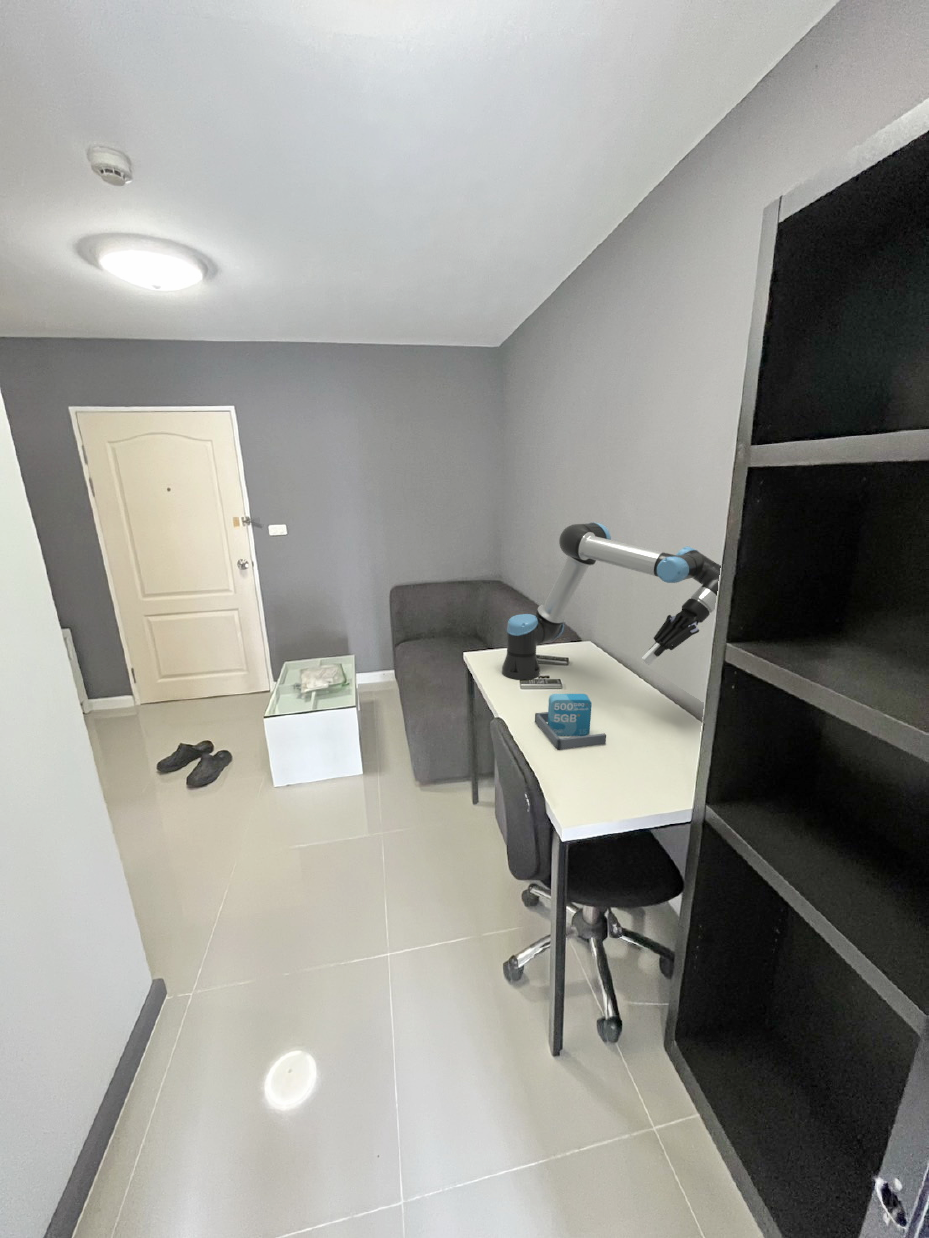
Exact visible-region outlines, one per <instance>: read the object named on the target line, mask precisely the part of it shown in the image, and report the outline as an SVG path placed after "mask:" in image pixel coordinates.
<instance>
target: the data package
mask: <svg viewBox="0 0 929 1238" xmlns="http://www.w3.org/2000/svg"><path fill="white" fill-rule="evenodd" d="M547 706H548V708H547V712H548V722H547V724H548V725H549V726H550V727H551V729H552V730H553V731H554V732H555V733H556V735H557V736H558V737H577V736H586V735H590V734H589V733H590V732H591V718H592V701H591V699H590V698H589V696H588V694H585V693H552V694H550V695H549V697H548V705H547Z"/></svg>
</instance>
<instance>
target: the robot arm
mask: <svg viewBox="0 0 929 1238" xmlns="http://www.w3.org/2000/svg"><path fill="white" fill-rule="evenodd" d="M558 540H559V542H558V544H559V548H560V549H561V551H562V553H563V554H564V555H566V556H567V557H566V560H565V562H564V564H563V566H562V568H561V570H560V571H559V574H558V576H557V578H556V580H555V582H554V583H553V585H552V588H551V590H550V592H549V593H548V596H547V597H546V599H545V601H544V603H543V604H540V605H539V606H538V607H537V609H536V611H535V613H534V614H531V613H522V614H516V615H514V616H511V617H510V618H509V619H508V621H507V626H506V631H507V632H506V633H507V634H506V636H507V637H506V655H505V658H504V662H503V665H502V667H501V674H502V675H503V676H505V677H507V678H510V679H513V680H523V679H526V680H532V679H535V678H538V677H539V676H540V674H541V673H540V672H541V669H540V665H539V662H538V658H537V646H538V645H541V644H544V643H547V642H552V641H555V640H556V639H557V638H559V637H560V636H561V635H562V634H563V632H564V629H565V623H564V621H565V616H564V613H565V611H566V609H567V608H568V605H569V603H570V601H571V600H572V598H573V596H574V594H575V592H576V591H577V589H578V587H579V585H580V583H581V581H582V579H583V578H584V576H585V573H586V572H587V569H588V568H589V567H591V566H594V565H595V564H596V562H601V563H605V564H608V565H612V566H616V567H620V568H624V569H627V570H630V571H636V572H639V573H643V574H646V575H650V576H654V577H657V578H659V579H660V580H661V581H662V582H665V583H668V584H677V583H679V582H682V581H687V580H689V579H693V580H695V581H696V582H697V583H699V584H701V586H700V587H699V588H698V589H697V590H696V591H695V592H694V593H693V594H692V595H691V596H690V598H688V599H687V600H686V601H685V602H684V603H683V604H682V605H681V610H680V612H677V613H676V614H675V615H673V616H672V615H671V614H669V615H667V616H666V619H665V621H664V623H663V624H662V625H661V627H660V628H659V630H658V631H656V634H655V635H654V637H653V640H654V641H655V642H654V644H653V645H652V646H651V647H650V648H649V649H648V651H647V652H646V653H644V655H643V656H642V657H641V659H642V660H643V661H644V662H645V664H647V665H648V666H650V665H651V664H652V663H653V662H655V661H654V660H656V659H657V658H658V657H660V656H661V655H662V654H663V653H664V652H665V651H667V650H669V651H673V650H674V649H675V648H677V647H678V646H680V645H681V644H683V643H684V642H685V641H687V640H688V639H689V638H691V637H693V636H694V635H695V634H698V633H700V629H699V628H698V625H699V624H700V623H703V622H704V621H705V620H706V619H707V618H708V617H710V614H711V613H713V612H714V611H715V610H716V609H715V603H716V596H717V591H718V581H719V575H720V568H721V565H722V564H720V563H717V562H715V561H714V560H712V559H710V558H709V557H707V556H706V555H704V554H703V553H701V552H700V551H699V550H697V549H695V548H693V547H691V546H684V547H682V548H681V549H680V550H679V551H677V553H676V554H671V553H668V552H663V551H660V550H655V549H651V548H648V547H647V548H646V547H642V546H637V545H635V544H634V545H633V544H629V543H625V542H621V541H616V540H613V539H612V536H611V534H610V531H609V530H608V528H607V526H605V525H604V524H602V523H598V522H589V523H574V524H571V525H569V526H567V527H565V528H564V529H563V530H562V531H561V533H560V535H559V539H558Z"/></svg>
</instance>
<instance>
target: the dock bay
mask: <svg viewBox="0 0 929 1238" xmlns="http://www.w3.org/2000/svg"><path fill="white" fill-rule="evenodd" d="M534 723H535V724H536V726H537V727H538V728H539V729H540V730H541V732H542V733H543V734H544V735H545V737H546V738H547V739H548V740H549V742H550V743H551V744H552V745H553V747H555V749H556V750H557V751H560V750H561V751H563V750H568V749H577V748H586V747H593V746H604V745H606V744H607V743H606V742H607V734H606V733H595V734H588V735H586V736H568V737H562V738H560V736H557V735H556V733H555V732H554V731H553V730H552V729H551V727H550V726H549V725H548V711H543V712H535V713H534Z"/></svg>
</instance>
